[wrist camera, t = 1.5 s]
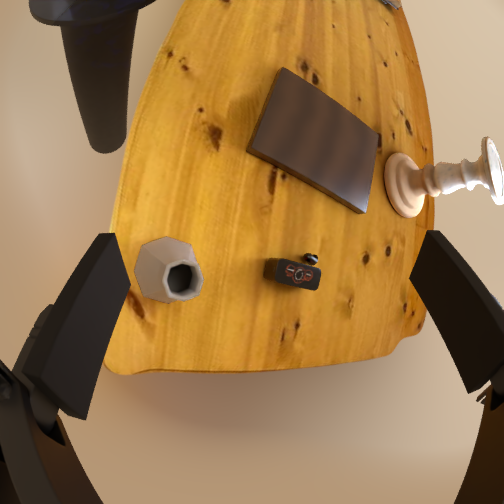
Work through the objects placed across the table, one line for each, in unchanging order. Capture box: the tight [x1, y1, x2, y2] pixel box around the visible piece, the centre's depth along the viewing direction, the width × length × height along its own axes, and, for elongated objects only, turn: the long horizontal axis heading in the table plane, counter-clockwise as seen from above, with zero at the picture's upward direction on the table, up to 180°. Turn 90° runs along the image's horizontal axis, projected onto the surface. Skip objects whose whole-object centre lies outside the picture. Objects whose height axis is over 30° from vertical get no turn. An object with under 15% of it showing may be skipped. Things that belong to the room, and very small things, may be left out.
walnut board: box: [246, 67, 378, 214], centre depth 37 cm, size 20×15×2 cm
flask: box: [134, 236, 204, 304], centre depth 25 cm, size 7×7×10 cm
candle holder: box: [384, 137, 504, 218], centre depth 37 cm, size 12×12×20 cm
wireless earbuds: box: [264, 253, 321, 290], centre depth 34 cm, size 5×7×3 cm, turn 76°
